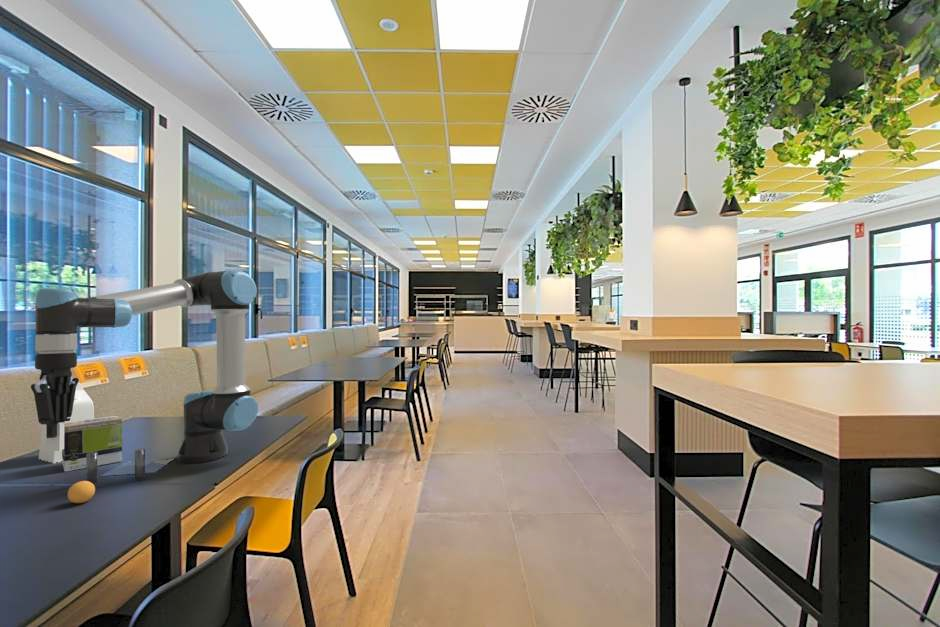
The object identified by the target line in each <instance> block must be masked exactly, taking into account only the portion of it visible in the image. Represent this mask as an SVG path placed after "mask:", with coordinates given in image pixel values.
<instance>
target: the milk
mask: <svg viewBox="0 0 940 627" xmlns="http://www.w3.org/2000/svg"><path fill="white" fill-rule="evenodd" d="M94 407H95V406H94V402H93V400H92V399H91V397H90V396H89V395H88V393H87V392H86V390H84V388H83V386H82V384H81V382H79V381H78V384H77V386H76V391H75V397H74V403H73V410H72V416H71V417H68V418H70V421H65V422H72V421H79V420H86V419H94V418H95V408H94ZM46 431H47V426H46V424H41V429H40V441H39V452H38V454H39V455H38V460H40V459H41V461H44V460H45V461H44V462H47V461H48V463H50V462H52V463H51V464H57V463H56V462H58V463H62V462H61V461H62V450H60V451H46V447H47V436H46V434H47V433H46Z"/></svg>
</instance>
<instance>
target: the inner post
mask: <svg viewBox="0 0 940 627" xmlns="http://www.w3.org/2000/svg"><path fill="white" fill-rule="evenodd" d="M145 460H146V449H145V448H137V449H135V450H134V461H135V474H134V482H135V481H138V482H143V481H144V480H146V479H145V478H146V473H145ZM142 480H143V481H142Z"/></svg>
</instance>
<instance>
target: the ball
mask: <svg viewBox="0 0 940 627" xmlns="http://www.w3.org/2000/svg"><path fill="white" fill-rule="evenodd" d="M95 493H96V486H95V484H92V483H91V482H89V481H86V480H82V481H78V482H76V483H74V484H72V485H71V486H70V487H69V489H68V491H67V498H68V500H69V501H70V502H71V503H74V504H83V503H86V502H88V501H89V500H91V498H93V496H94V495H95Z"/></svg>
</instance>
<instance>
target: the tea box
mask: <svg viewBox="0 0 940 627" xmlns="http://www.w3.org/2000/svg"><path fill="white" fill-rule="evenodd" d="M122 420H123V419H122V418H121V417H119V416H118V415H110V416H103V417H97V418H96V417H94V419H86V420H79V421H72V422H64V449H63V450H62V462H61V463H62V467H63V471H64V472H71V471H77V470H81V469H82V470H83V469H86V461H87V453H89V452H95V451H96V452H98V466H103V465H109V464H113V463H119V462H123V424H122V423H123V422H122Z"/></svg>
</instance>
